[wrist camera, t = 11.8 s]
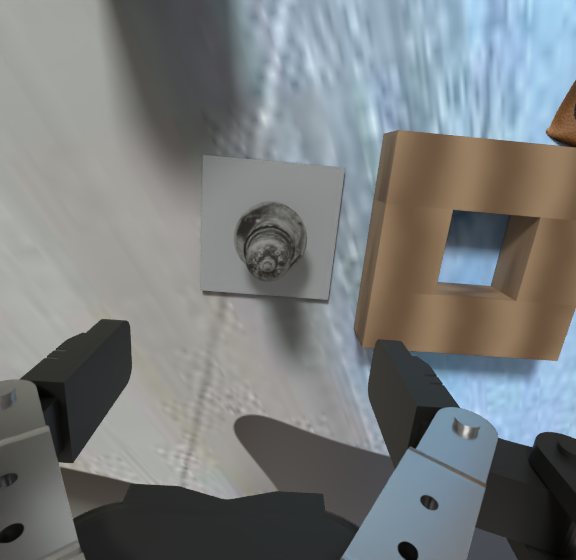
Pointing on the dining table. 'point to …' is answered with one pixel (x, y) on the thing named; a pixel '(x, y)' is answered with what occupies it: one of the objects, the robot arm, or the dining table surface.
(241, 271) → the grey mat
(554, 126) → the sunglasses case
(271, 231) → the grey stone ornament
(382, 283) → the pocket holder
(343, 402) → the dining table surface
